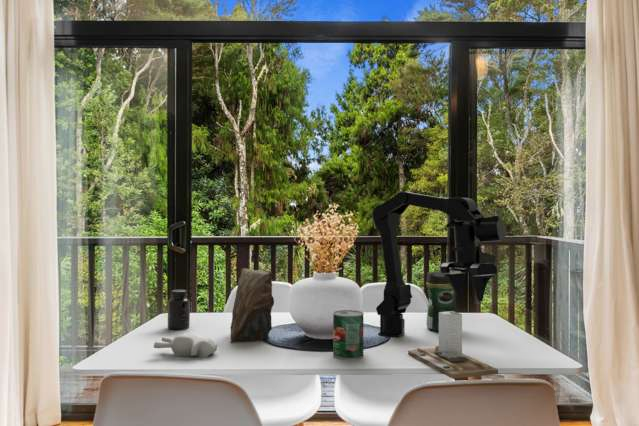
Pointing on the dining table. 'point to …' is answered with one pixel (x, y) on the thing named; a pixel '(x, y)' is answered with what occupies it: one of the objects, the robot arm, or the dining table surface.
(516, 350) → the dining table surface
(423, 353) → the trammel board
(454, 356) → the grey rectangular block
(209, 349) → the bunny figurine
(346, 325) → the canned tomato
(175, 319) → the supplement bottle
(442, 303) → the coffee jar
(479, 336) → the dining table surface
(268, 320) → the tall brown stone
